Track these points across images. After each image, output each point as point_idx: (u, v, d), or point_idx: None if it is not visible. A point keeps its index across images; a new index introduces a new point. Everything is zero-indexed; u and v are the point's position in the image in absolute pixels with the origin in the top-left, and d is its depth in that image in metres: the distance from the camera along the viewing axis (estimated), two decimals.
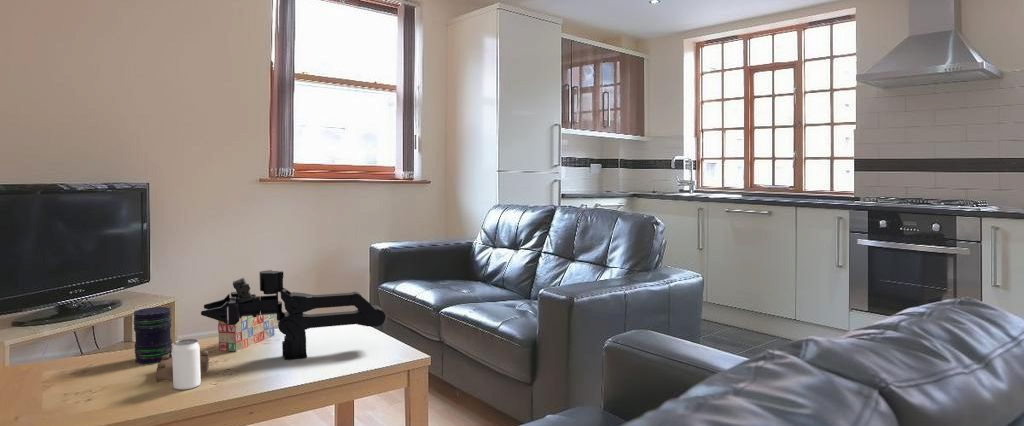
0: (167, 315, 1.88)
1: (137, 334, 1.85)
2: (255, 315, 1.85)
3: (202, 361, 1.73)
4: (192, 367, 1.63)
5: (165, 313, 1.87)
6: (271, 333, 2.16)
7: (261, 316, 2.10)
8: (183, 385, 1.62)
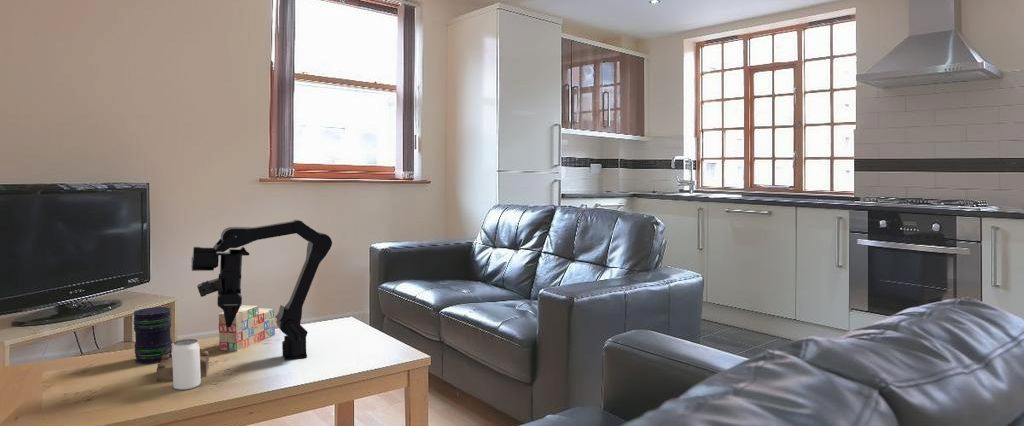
0: (167, 315, 1.88)
1: (137, 334, 1.85)
2: (239, 276, 1.81)
3: (202, 361, 1.73)
4: (192, 367, 1.63)
5: (165, 313, 1.87)
6: (271, 333, 2.16)
7: (261, 316, 2.11)
8: (183, 385, 1.62)
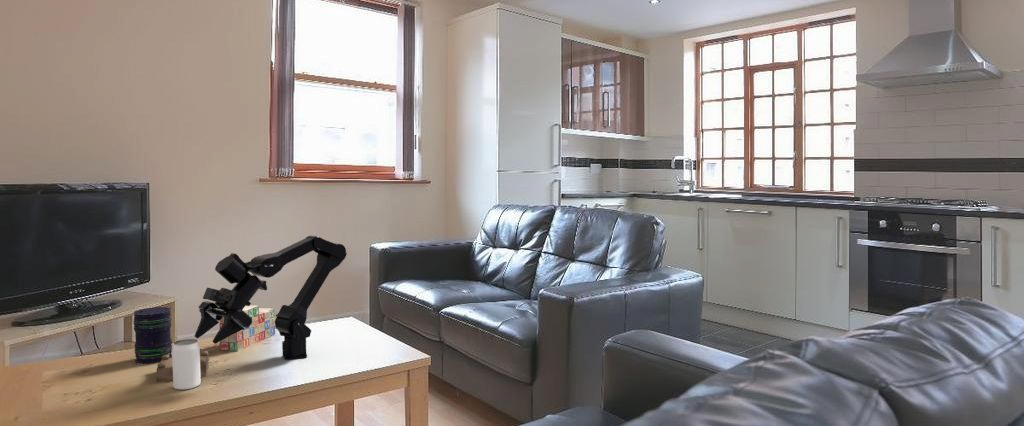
0: (167, 315, 1.88)
1: (137, 334, 1.85)
2: (249, 303, 1.77)
3: (202, 361, 1.73)
4: (192, 367, 1.63)
5: (165, 313, 1.87)
6: (272, 333, 2.17)
7: (262, 316, 2.11)
8: (183, 385, 1.62)
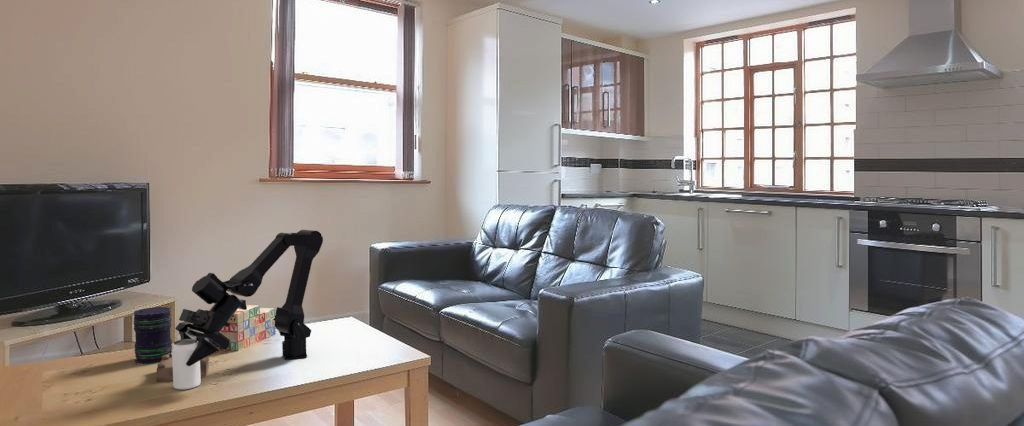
0: (167, 315, 1.88)
1: (137, 334, 1.85)
2: (227, 323, 1.72)
3: (202, 361, 1.73)
4: (192, 367, 1.63)
5: (165, 313, 1.87)
6: (272, 332, 2.17)
7: (263, 315, 2.11)
8: (183, 385, 1.62)
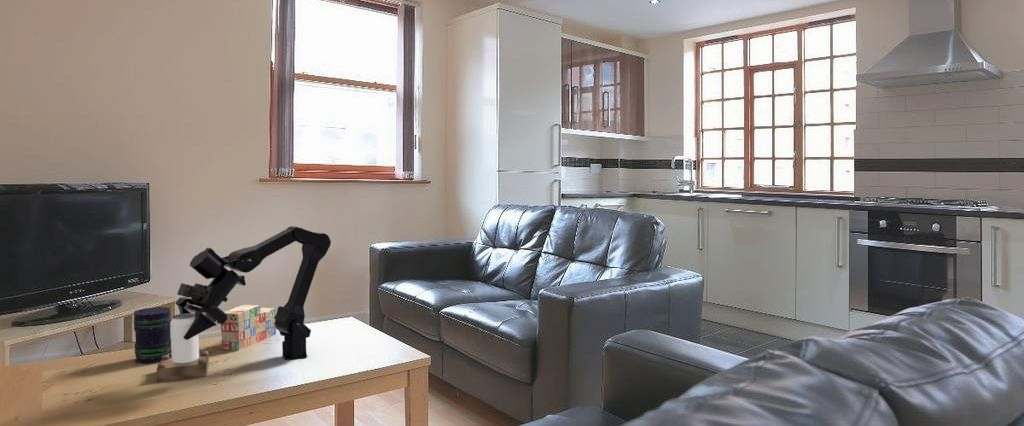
0: (167, 315, 1.88)
1: (137, 334, 1.85)
2: (226, 299, 1.72)
3: (202, 361, 1.73)
4: (190, 341, 1.64)
5: (165, 313, 1.87)
6: (273, 332, 2.17)
7: (263, 315, 2.12)
8: (181, 359, 1.63)
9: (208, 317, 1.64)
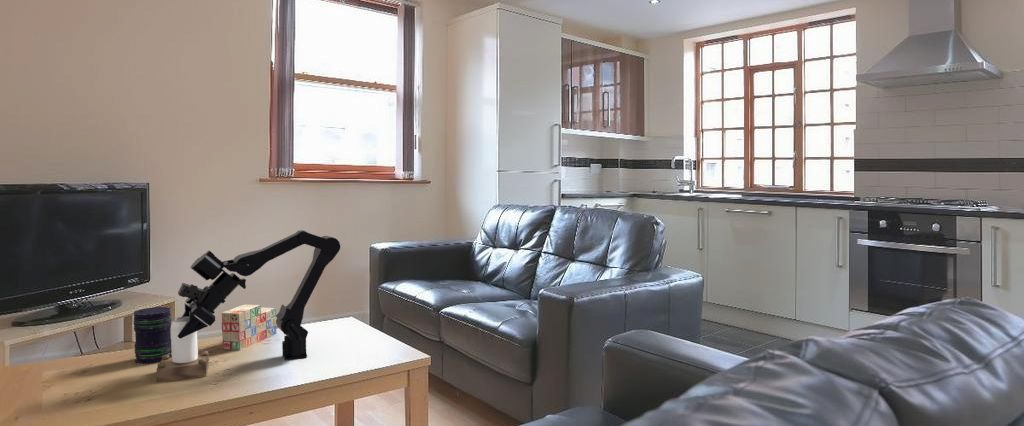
0: (167, 315, 1.88)
1: (137, 334, 1.85)
2: (223, 300, 1.78)
3: (202, 361, 1.73)
4: (185, 343, 1.73)
5: (165, 313, 1.87)
6: (273, 332, 2.18)
7: (264, 315, 2.12)
8: (177, 359, 1.73)
9: (198, 318, 1.70)
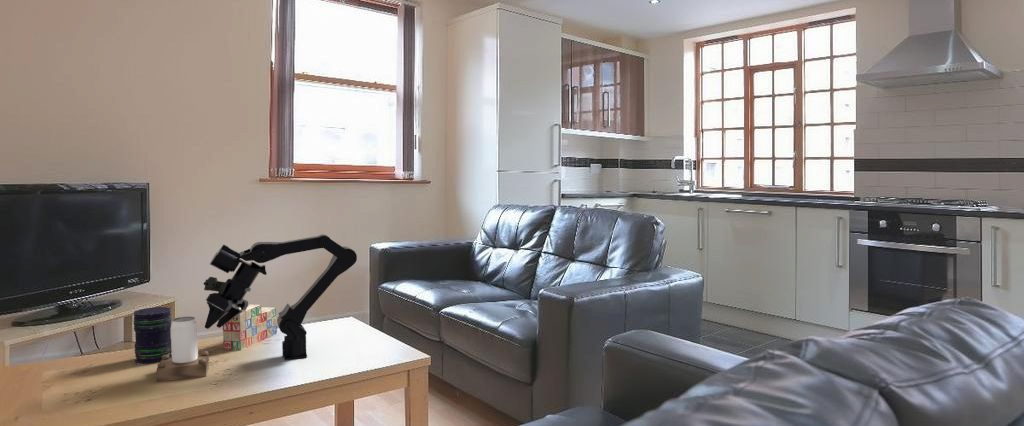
0: (167, 315, 1.88)
1: (137, 334, 1.85)
2: (244, 288, 1.82)
3: (202, 361, 1.73)
4: (185, 343, 1.73)
5: (165, 313, 1.87)
6: (274, 331, 2.18)
7: (264, 315, 2.12)
8: (177, 359, 1.73)
9: (214, 305, 1.75)
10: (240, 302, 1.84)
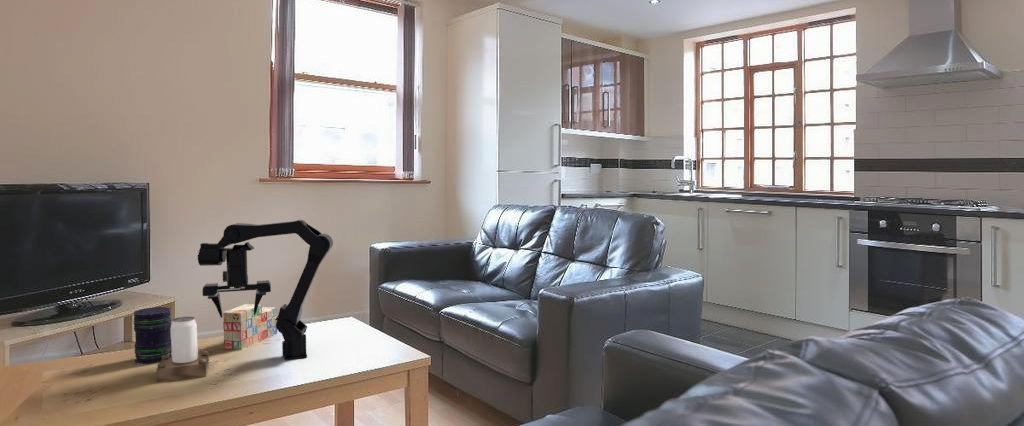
0: (167, 315, 1.88)
1: (137, 334, 1.85)
2: (227, 271, 1.86)
3: (202, 361, 1.73)
4: (185, 343, 1.73)
5: (165, 313, 1.87)
6: (274, 331, 2.18)
7: (265, 314, 2.13)
8: (177, 359, 1.73)
9: None
10: (239, 285, 1.87)
